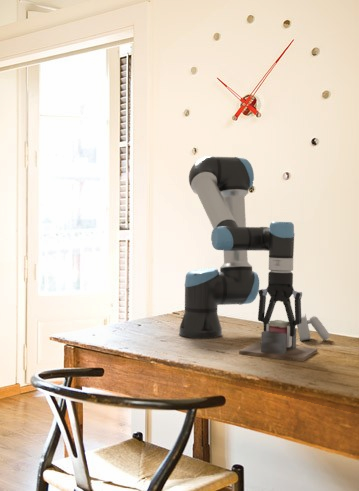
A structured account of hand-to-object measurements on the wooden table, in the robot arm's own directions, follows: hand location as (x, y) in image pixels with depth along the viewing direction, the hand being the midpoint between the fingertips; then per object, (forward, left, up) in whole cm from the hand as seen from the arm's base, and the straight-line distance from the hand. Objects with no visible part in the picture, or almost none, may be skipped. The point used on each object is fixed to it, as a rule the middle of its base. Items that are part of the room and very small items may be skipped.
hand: (278, 345), depth 199 cm
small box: (0, 0, -1) cm, 1 cm away
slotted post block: (0, 0, -2) cm, 2 cm away
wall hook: (+3, +27, -3) cm, 27 cm away
